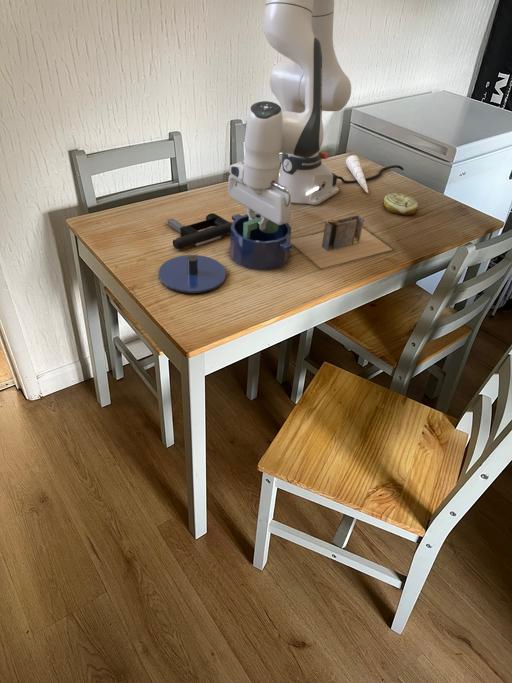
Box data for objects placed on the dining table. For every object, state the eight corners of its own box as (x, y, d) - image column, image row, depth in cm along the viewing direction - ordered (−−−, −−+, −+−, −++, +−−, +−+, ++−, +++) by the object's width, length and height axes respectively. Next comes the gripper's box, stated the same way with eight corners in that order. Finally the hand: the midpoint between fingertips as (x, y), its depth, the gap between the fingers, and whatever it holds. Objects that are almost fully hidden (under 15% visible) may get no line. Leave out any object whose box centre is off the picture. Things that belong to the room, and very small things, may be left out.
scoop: (269, 222, 146) (270, 209, 144) (282, 229, 143) (283, 216, 141) (238, 233, 140) (239, 220, 138) (251, 241, 137) (252, 227, 135)
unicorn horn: (356, 194, 180) (359, 180, 177) (344, 166, 199) (346, 154, 196) (370, 194, 181) (373, 181, 178) (357, 167, 199) (359, 154, 196)
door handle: (149, 222, 151) (179, 243, 141) (207, 205, 161) (240, 224, 151) (150, 232, 153) (180, 254, 143) (208, 216, 163) (240, 235, 153)
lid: (198, 252, 145) (198, 235, 142) (239, 279, 136) (240, 262, 132) (145, 272, 136) (144, 254, 132) (185, 303, 127) (185, 285, 123)
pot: (254, 230, 156) (256, 205, 151) (307, 261, 145) (311, 235, 140) (212, 246, 148) (212, 220, 142) (264, 281, 136) (266, 253, 131)
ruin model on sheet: (321, 268, 143) (326, 235, 136) (288, 240, 153) (292, 208, 147) (392, 249, 153) (400, 218, 147) (357, 224, 164) (363, 194, 157)
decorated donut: (405, 220, 168) (408, 209, 165) (376, 208, 173) (378, 197, 171) (421, 210, 174) (424, 199, 172) (393, 199, 179) (395, 188, 177)
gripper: (300, 186, 127) (293, 238, 136) (243, 158, 138) (240, 208, 147) (281, 193, 123) (275, 246, 132) (224, 164, 135) (223, 214, 143)
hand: (257, 226), depth 140 cm, fingers closed on scoop, 2 cm apart
